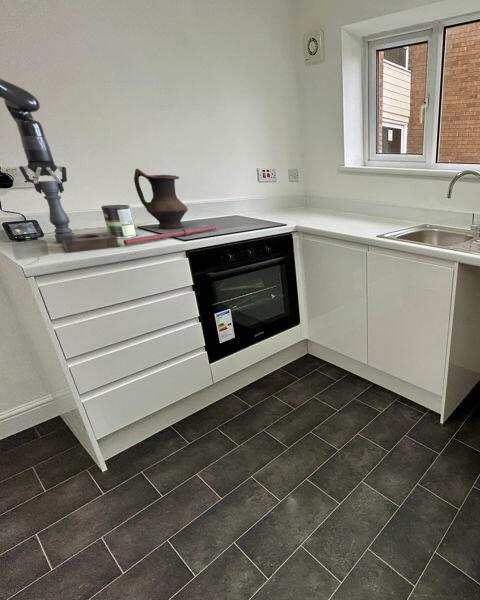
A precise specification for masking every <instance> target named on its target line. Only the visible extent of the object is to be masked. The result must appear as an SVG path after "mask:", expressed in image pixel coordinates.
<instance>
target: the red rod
mask: <svg viewBox="0 0 480 600" xmlns="http://www.w3.org/2000/svg"><path fill="white" fill-rule="evenodd" d="M216 229H217V226H216V225H207V226H202V227H201V226H200V227H195V228H190V229H189V228H183V229H181V230H176V231H170V232H165V233H159V234H158V233H157V234H152V235H145V236H140V237H132V238H126V239H124V240H123V241H122V243H123V245H125V246H129V245H130V246H131V245H136V244H141V243H146V242H152V241H158V240H164V239H169V238H175V237H181V236H184V237H186V236H190V235H192V234H198V233H203V232H210V231H215V230H216Z"/></svg>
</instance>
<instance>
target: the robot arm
mask: <svg viewBox="0 0 480 600" xmlns="http://www.w3.org/2000/svg"><path fill="white" fill-rule="evenodd" d="M0 98H1V99H3V101H4V105H5V107H6V109H7V111H8V112H9V114H10V116H11V118H12V119H13V121H14V123H15V124H16V127H17V131H18V134H19V136H20V142H21V145H22V148H23V151H24V154H25V157H26V161H27V165H19V166H18V169H19V170H20V172H21V174H22V176H23V178H24V179H25V181H26V182H27V183H31V184H33V186H34V188H35V189H34V190H35V191H36V192H37V193H39V194H43V192H42V190H41V189H40V186H39V184H38V181H39V179H40V177H45V176H47V177H52V178H53V179H54V181H57V183H58V187H59V193H60V194H63V192H64V191H65V189H64V184H63V183H66V182H67V181H68V177H67V168H66V166H60V165H56V164H55V161H54V158H53V155H52V151H51V147H50V145H49V142H48V140H47V138H46V135H45V132H44V129H43V126H42V124H41V122H40V121H39V120H36V119H35V118H34V117H33V115H32V113H35V112H38V111H39V110H40V108H41V104H40V102H39V100H38V98H37V97H36V96H35V95H34V94H32V93H31V92H29V91H27V90H26V89H24V88H22V87H19V86H18V85H16V84H13V83H12V82H9V81H7V80H4V79H2V78H1V77H0ZM28 169H29V170H31V171H32V172H33V173H34V175H33V179H31V178H30V176H29V175H28V173H27V172H28ZM57 170H58V171H59V172H60V173H61V179H60V178H59V177H58V176H57V174H56V173H55V172H56V171H57Z"/></svg>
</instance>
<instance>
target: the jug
mask: <svg viewBox="0 0 480 600" xmlns="http://www.w3.org/2000/svg"><path fill="white" fill-rule="evenodd" d="M140 177H142V178H145V179H146V180H147V181H148V182H149V184H150V186H151V192H152V198H151V200H150V201H149V202H148V201H146V200H145V196H144V193H143V190H142V188H141V185H140ZM179 179H180V177H179V176H177V175H172V174H146V173H145V172H144V171H142V170H141V169H140V168H135V169H134V176H133V182H134V187H135V189H136V193H137V195H138V197H139V200H140V202H141V204H142V205H143V207H144V208H145V209H146V211H147V213H149V214H150V215H151V216H152V217H153V218H154V219H156V220H157V222H158V223H159V224H158V228H159V229H163V230H176V229H180V228H183V223H182V222H181V221H182V219H183V217H184V216H185V214H186V213H187V212H188V207H187V205H185V204H184V203H183V201H181V200H180V199H179V198H178V197H177V193H176V183H175V182H176V181H175V180H179Z"/></svg>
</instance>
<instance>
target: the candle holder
mask: <svg viewBox="0 0 480 600" xmlns="http://www.w3.org/2000/svg"><path fill="white" fill-rule="evenodd" d="M38 184H39V186H40V189H41V192H42V194H44V196H43V199H45V201H46V202H47V204H48V207H49V209H48V211H49V222H50V223H51V224H52V225H53V226H54V228H55V229H54V231H53V232H54V233H55V234H54V238H55V241H56V243H57V244H62V241H61V238H60V236H66V235H75V234H74V232H73V229H72V228H70V227H69V224H70V221H71V220H70V218H69V216H68V214H67V213H66V212H65V210H64V208H63V206H62V203H61V199H62V196H61V195H60V194H59V193H60V191H59V187H58V183H57V181H56V180H38Z"/></svg>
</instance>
